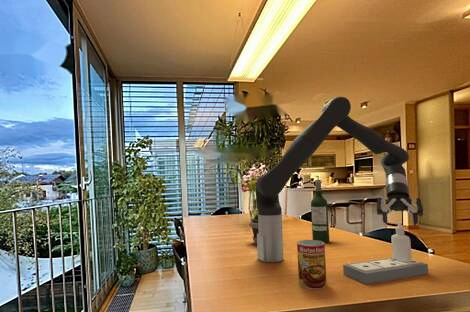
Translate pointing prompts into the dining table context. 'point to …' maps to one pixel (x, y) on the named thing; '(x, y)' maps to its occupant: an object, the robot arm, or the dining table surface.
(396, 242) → the eye dropper bottle
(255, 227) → the flowerpot
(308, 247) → the canned food
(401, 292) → the dining table surface
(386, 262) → the tile board
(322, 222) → the wine bottle
